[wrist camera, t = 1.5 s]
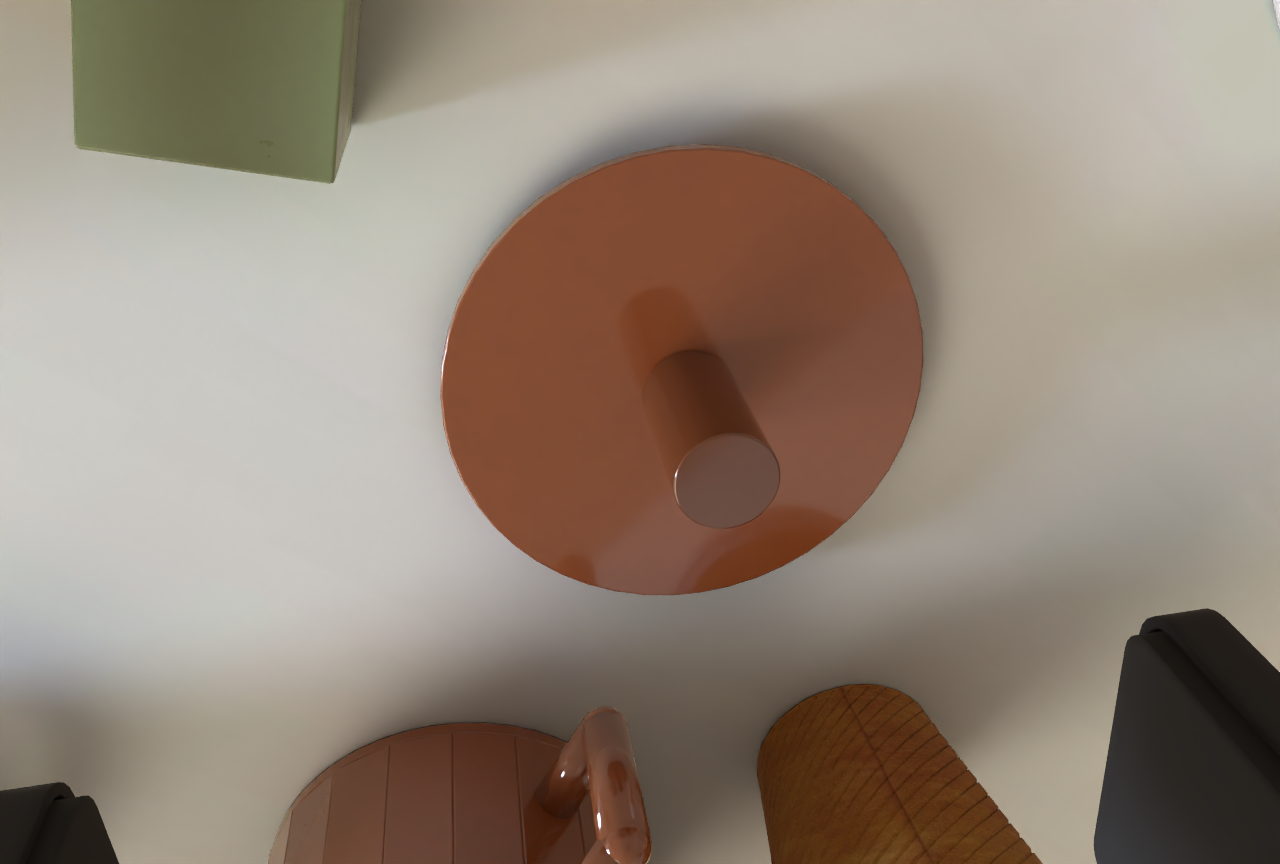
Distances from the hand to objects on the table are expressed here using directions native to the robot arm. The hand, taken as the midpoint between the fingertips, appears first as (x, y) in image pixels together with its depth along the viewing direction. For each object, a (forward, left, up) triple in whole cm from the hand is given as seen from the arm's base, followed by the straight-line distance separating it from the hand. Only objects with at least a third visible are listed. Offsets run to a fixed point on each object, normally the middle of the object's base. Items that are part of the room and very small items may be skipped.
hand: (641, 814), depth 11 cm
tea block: (-7, +3, -22) cm, 23 cm away
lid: (+5, -5, -21) cm, 22 cm away
